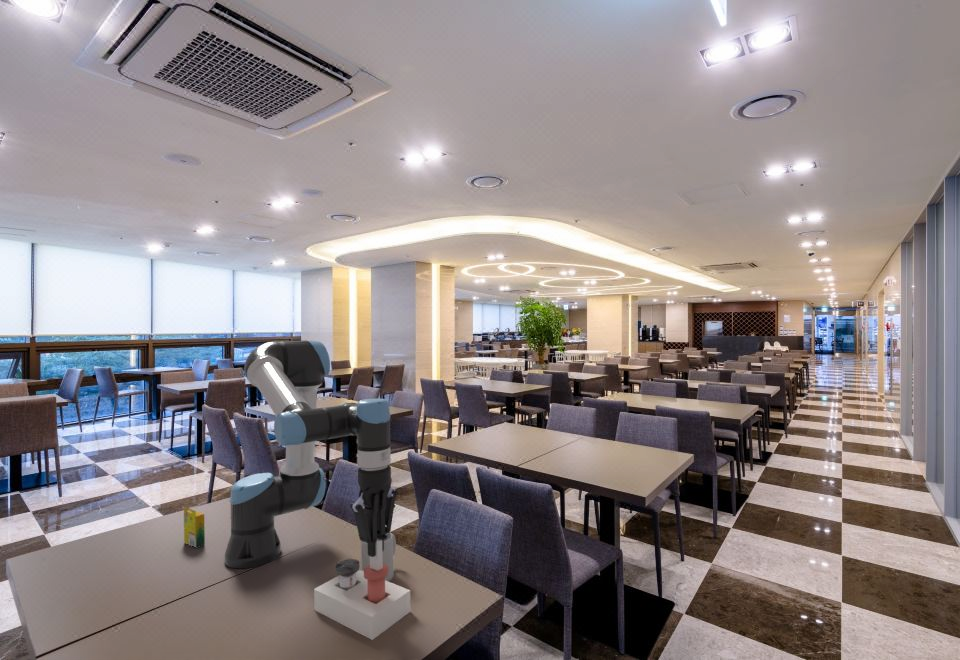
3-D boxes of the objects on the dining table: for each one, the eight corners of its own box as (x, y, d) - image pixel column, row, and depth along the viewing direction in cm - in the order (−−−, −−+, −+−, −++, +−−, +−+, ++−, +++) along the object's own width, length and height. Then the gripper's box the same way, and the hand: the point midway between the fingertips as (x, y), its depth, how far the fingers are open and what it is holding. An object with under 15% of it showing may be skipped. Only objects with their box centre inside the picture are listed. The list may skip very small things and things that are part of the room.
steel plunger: (331, 604, 111) (330, 566, 111) (349, 593, 116) (349, 556, 116) (346, 612, 108) (345, 572, 108) (364, 600, 113) (364, 562, 113)
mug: (380, 588, 119) (380, 546, 119) (354, 581, 122) (354, 540, 122) (407, 567, 129) (406, 528, 129) (382, 561, 133) (382, 523, 133)
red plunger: (359, 610, 106) (358, 570, 106) (377, 598, 110) (376, 560, 110) (376, 618, 102) (375, 577, 103) (394, 606, 107) (393, 566, 107)
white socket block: (314, 610, 110) (314, 589, 110) (353, 586, 120) (353, 567, 120) (372, 640, 99) (371, 616, 99) (410, 611, 109) (410, 590, 109)
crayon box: (205, 545, 146) (204, 508, 146) (195, 548, 143) (194, 511, 143) (193, 539, 150) (193, 504, 150) (183, 543, 147) (183, 506, 147)
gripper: (363, 476, 99) (365, 585, 99) (405, 461, 110) (407, 560, 110) (341, 470, 103) (342, 575, 103) (383, 457, 114) (385, 552, 114)
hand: (376, 567), depth 106 cm, fingers closed
